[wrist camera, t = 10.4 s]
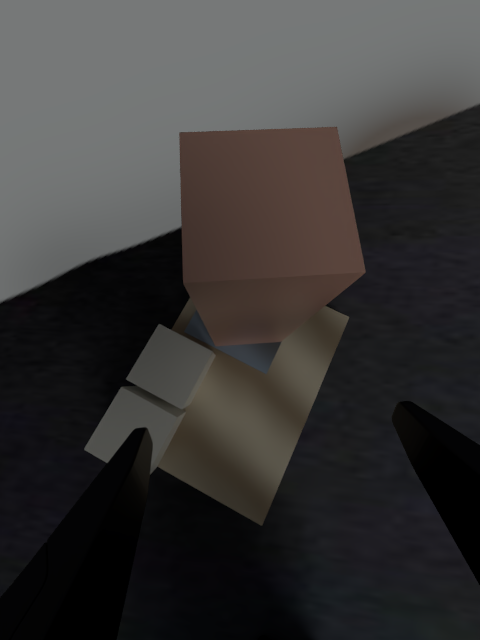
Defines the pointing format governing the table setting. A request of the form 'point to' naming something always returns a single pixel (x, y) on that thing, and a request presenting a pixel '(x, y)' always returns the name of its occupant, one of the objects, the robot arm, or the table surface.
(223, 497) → the board
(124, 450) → the robot arm
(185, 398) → the built blocks
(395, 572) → the table surface
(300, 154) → the tower block
